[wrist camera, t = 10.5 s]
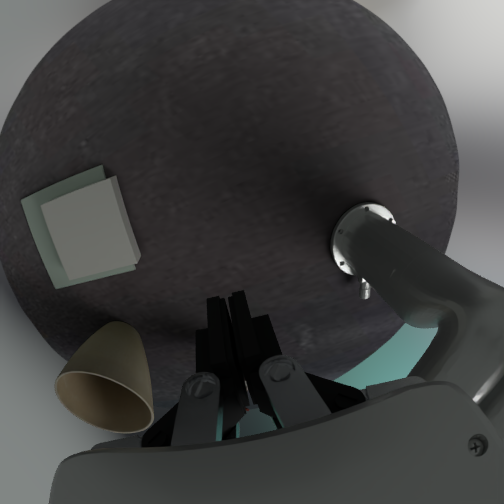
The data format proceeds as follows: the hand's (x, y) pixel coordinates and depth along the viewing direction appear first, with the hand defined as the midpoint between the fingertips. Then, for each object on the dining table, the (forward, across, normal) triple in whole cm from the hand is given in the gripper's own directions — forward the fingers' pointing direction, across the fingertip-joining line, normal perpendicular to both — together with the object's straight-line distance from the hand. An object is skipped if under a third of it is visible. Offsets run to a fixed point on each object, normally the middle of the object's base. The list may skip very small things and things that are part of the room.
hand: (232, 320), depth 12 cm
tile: (+25, +12, 0) cm, 28 cm away
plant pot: (+27, +22, +20) cm, 40 cm away
